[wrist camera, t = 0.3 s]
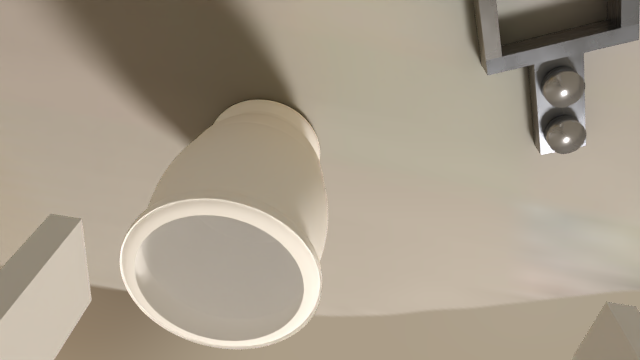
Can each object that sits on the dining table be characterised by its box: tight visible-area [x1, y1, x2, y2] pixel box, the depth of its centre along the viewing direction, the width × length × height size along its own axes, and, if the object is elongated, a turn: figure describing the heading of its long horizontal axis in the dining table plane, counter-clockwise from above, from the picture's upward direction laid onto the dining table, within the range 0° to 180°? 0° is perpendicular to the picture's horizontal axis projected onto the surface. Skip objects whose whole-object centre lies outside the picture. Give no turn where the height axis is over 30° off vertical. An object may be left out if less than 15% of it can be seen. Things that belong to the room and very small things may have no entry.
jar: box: [120, 99, 328, 349], centre depth 33 cm, size 11×10×15 cm
